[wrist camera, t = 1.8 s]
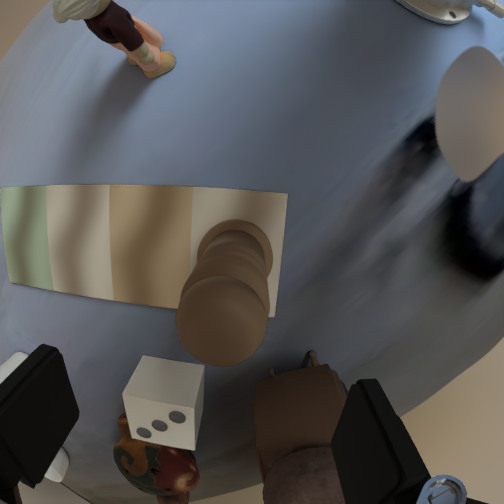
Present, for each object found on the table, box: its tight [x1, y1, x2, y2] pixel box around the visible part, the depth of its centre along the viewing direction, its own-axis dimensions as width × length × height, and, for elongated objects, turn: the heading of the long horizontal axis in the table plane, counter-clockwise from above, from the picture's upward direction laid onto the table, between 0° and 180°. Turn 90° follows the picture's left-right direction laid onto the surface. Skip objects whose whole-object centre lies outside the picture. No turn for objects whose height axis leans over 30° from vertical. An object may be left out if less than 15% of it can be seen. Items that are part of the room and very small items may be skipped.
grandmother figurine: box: [53, 0, 176, 78], centre depth 13 cm, size 8×4×13 cm, turn 55°
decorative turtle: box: [114, 413, 200, 504], centre depth 26 cm, size 10×15×8 cm, turn 20°
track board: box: [1, 184, 288, 317], centre depth 23 cm, size 28×10×1 cm, turn 85°
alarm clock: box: [254, 350, 349, 504], centre depth 17 cm, size 14×7×20 cm, turn 18°
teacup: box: [44, 447, 69, 482], centre depth 30 cm, size 10×8×5 cm
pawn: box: [176, 219, 273, 366], centre depth 17 cm, size 6×6×12 cm
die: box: [122, 355, 204, 451], centre depth 24 cm, size 6×6×6 cm
